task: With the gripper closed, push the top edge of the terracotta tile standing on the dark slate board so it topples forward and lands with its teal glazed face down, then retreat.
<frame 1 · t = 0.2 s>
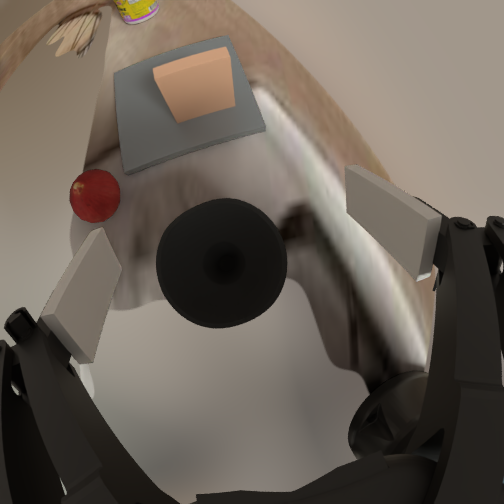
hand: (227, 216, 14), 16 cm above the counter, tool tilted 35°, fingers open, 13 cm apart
tile: (204, 109, 29), point 1 cm above the counter, touching slate board
slate board: (180, 96, 30), on the counter
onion: (111, 203, 30), on the counter
supplement bottle: (142, 15, 31), on the counter
pen holder: (230, 263, 29), on the counter
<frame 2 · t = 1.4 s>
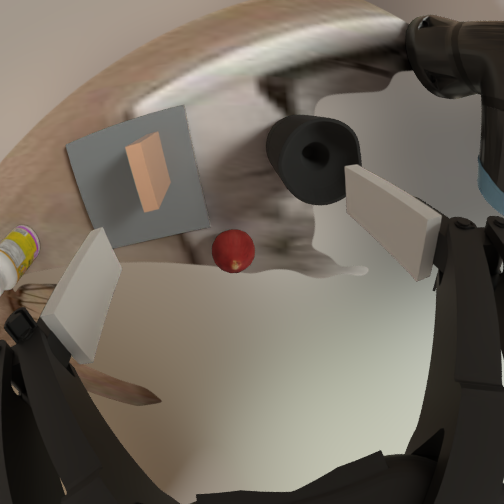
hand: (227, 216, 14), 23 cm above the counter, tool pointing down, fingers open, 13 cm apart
tile: (158, 158, 32), point 1 cm above the counter, touching slate board
slate board: (137, 181, 34), on the counter
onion: (231, 237, 41), on the counter
supplement bottle: (27, 240, 35), on the counter
pen holder: (296, 145, 35), on the counter
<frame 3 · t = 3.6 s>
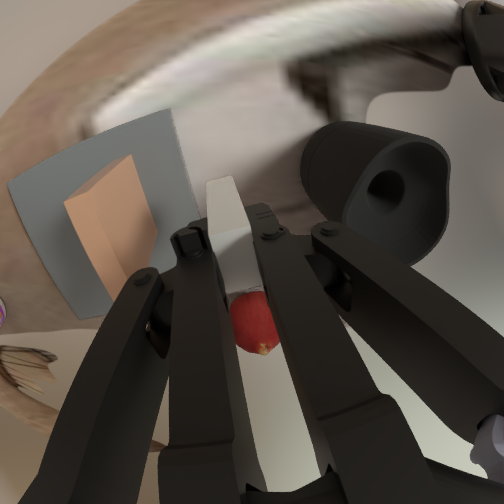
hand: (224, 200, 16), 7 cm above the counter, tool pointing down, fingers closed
tile: (135, 197, 21), point 1 cm above the counter, touching slate board
slate board: (109, 229, 23), on the counter
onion: (249, 295, 30), on the counter
pen holder: (342, 165, 24), on the counter
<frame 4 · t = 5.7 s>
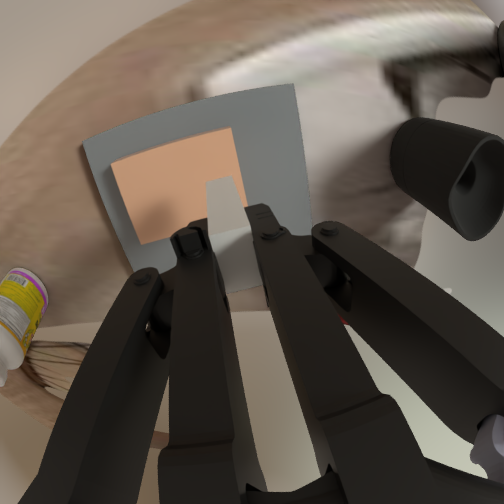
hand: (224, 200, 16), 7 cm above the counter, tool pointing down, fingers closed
tile: (239, 171, 20), point 2 cm above the counter, tilted 90°, touching slate board
slate board: (208, 200, 23), on the counter
supplement bottle: (29, 287, 24), on the counter
pen holder: (417, 155, 24), on the counter
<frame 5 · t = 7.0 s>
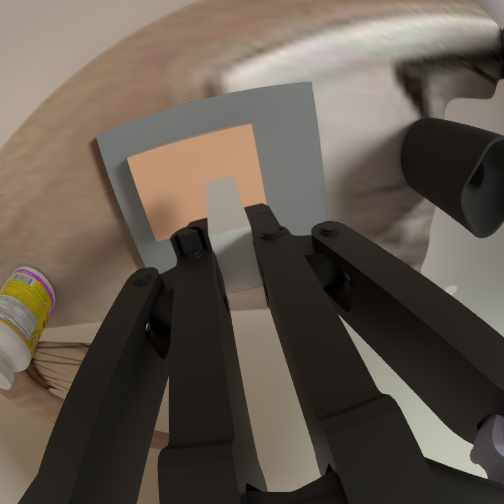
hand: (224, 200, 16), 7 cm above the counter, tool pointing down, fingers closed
tile: (258, 167, 20), point 2 cm above the counter, tilted 90°, touching slate board
slate board: (224, 197, 23), on the counter
supplement bottle: (35, 286, 24), on the counter
pen holder: (426, 154, 24), on the counter
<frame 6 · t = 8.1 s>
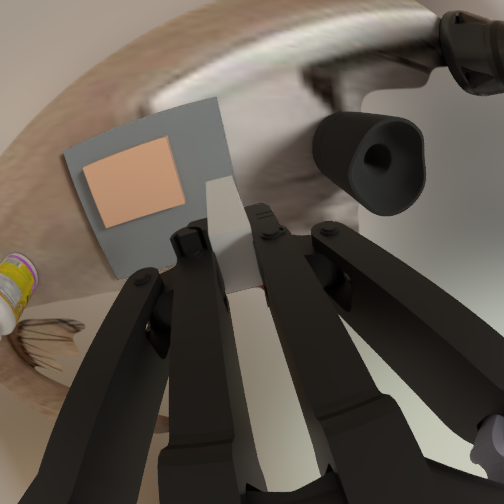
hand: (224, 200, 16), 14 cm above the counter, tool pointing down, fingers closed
tile: (175, 169, 25), point 2 cm above the counter, tilted 90°, touching slate board
slate board: (157, 193, 28), on the counter
supplement bottle: (22, 270, 29), on the counter
pen holder: (343, 146, 30), on the counter
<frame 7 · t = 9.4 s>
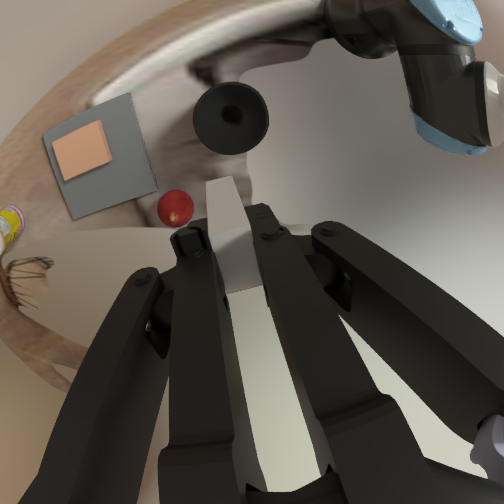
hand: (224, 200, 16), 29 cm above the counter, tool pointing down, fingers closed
tile: (104, 140, 35), point 2 cm above the counter, tilted 90°, touching slate board
slate board: (97, 158, 38), on the counter
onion: (177, 200, 45), on the counter
supplement bottle: (14, 218, 39), on the counter
pen holder: (225, 114, 39), on the counter
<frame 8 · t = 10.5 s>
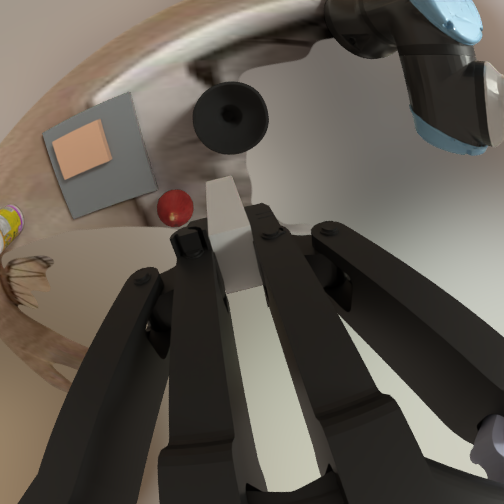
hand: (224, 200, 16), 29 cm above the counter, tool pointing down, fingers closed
tile: (104, 139, 35), point 2 cm above the counter, tilted 90°, touching slate board
slate board: (97, 157, 38), on the counter
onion: (177, 199, 45), on the counter
supplement bottle: (14, 217, 39), on the counter
pen holder: (225, 114, 39), on the counter
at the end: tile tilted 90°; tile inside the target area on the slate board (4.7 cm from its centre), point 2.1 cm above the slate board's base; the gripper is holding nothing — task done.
